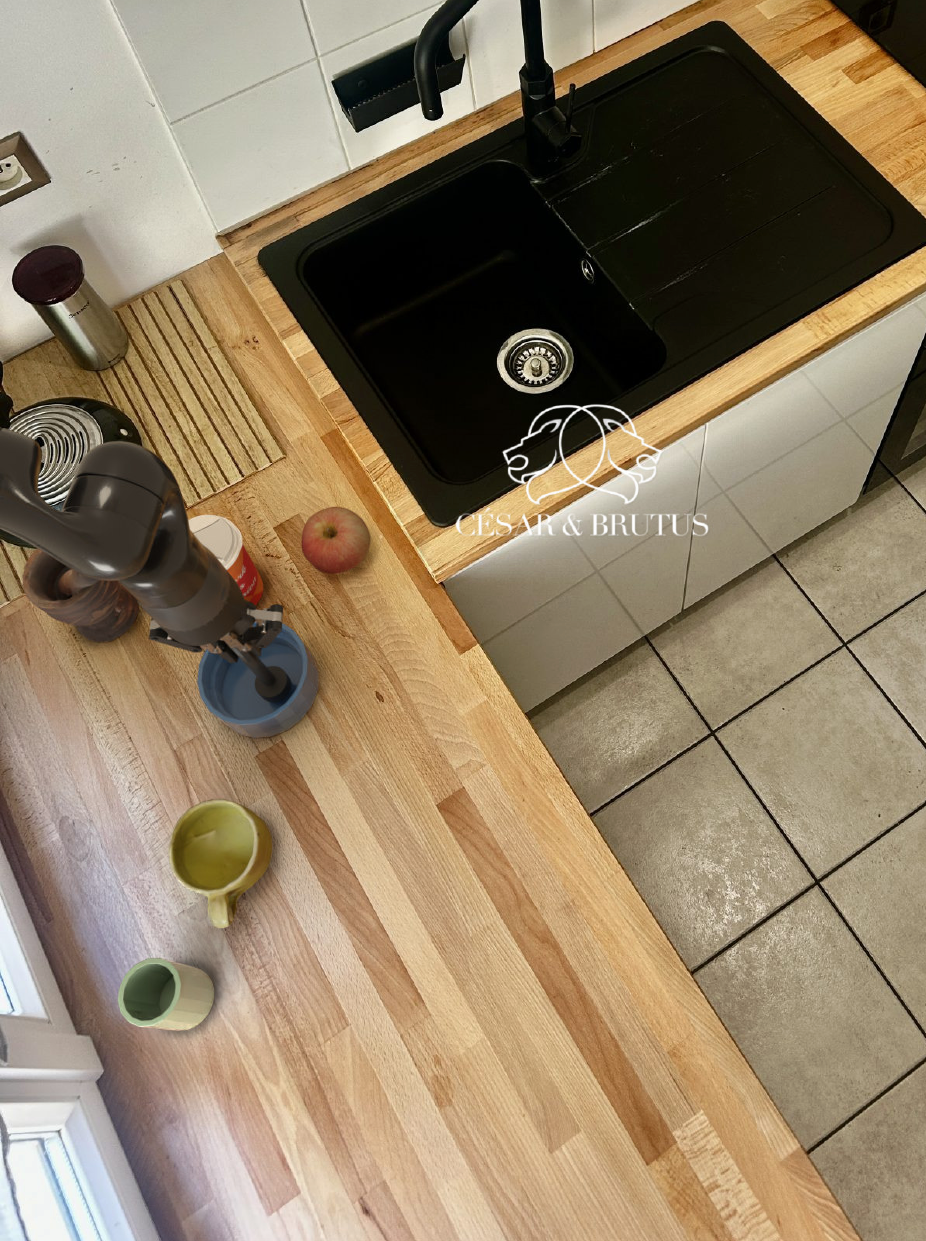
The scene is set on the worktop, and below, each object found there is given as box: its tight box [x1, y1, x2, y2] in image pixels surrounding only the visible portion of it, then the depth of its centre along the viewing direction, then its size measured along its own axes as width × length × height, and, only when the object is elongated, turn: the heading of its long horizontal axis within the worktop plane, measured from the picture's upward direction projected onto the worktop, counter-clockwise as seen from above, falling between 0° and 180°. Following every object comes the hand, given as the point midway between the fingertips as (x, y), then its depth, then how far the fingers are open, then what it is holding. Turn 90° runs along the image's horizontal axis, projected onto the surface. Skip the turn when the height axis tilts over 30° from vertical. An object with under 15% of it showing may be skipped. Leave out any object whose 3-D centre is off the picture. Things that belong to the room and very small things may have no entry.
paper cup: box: [188, 514, 264, 606], centre depth 130 cm, size 8×8×14 cm
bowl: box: [196, 622, 320, 739], centre depth 128 cm, size 12×12×6 cm
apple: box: [301, 506, 371, 575], centre depth 135 cm, size 8×8×8 cm
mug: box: [167, 798, 273, 929], centre depth 118 cm, size 12×10×10 cm
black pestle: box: [225, 642, 292, 702], centre depth 121 cm, size 4×4×17 cm
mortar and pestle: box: [21, 548, 139, 643], centre depth 127 cm, size 12×9×20 cm
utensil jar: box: [117, 957, 215, 1032], centre depth 111 cm, size 6×6×10 cm
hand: (244, 653), depth 118 cm, fingers closed on black pestle, 1 cm apart
